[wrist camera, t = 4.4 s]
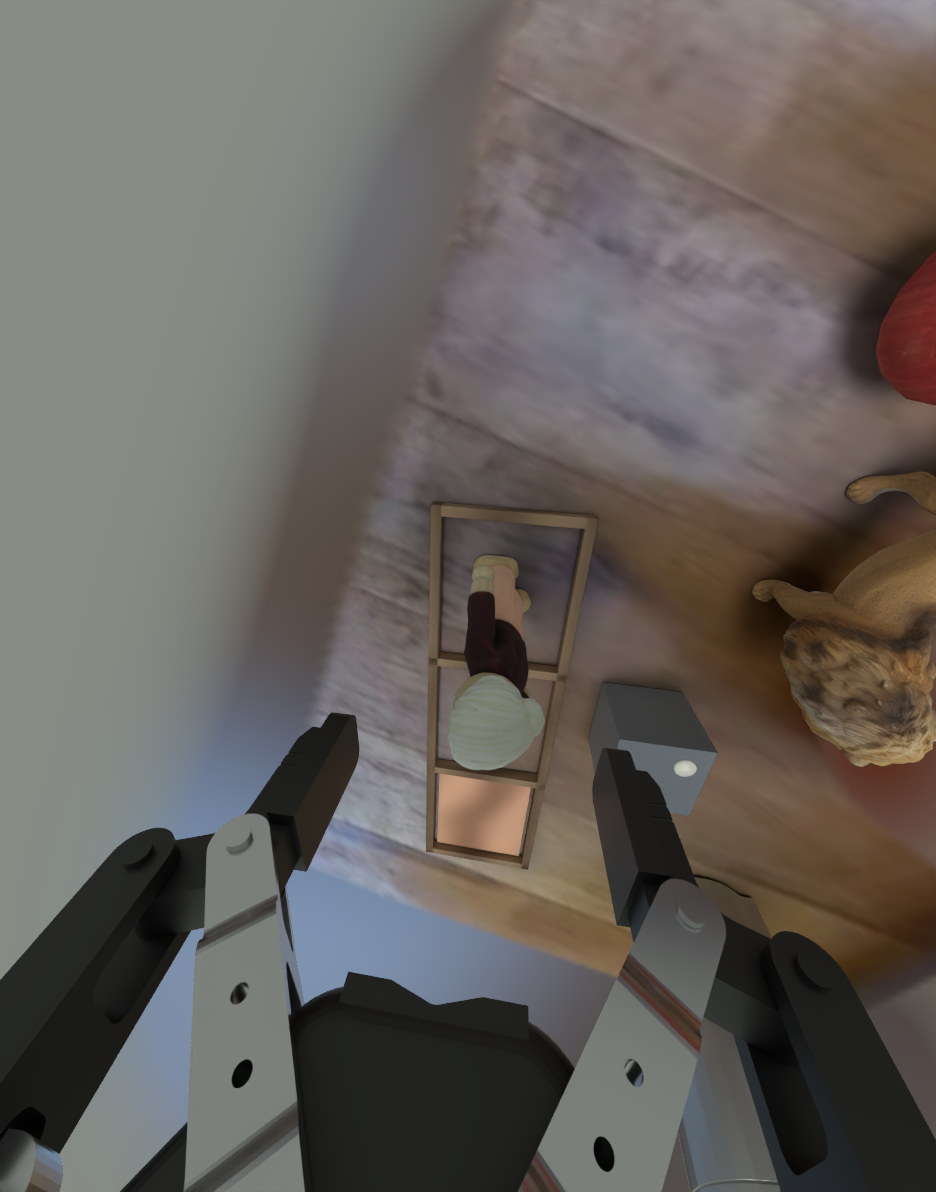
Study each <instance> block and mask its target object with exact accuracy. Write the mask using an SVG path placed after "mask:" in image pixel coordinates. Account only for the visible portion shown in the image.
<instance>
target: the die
mask: <svg viewBox="0 0 936 1192" xmlns="http://www.w3.org/2000/svg"><path fill="white" fill-rule="evenodd" d="M588 740H589V745H590V750H591V755H592V760H593V765H594V770H595V773H596V769H597V765H598V762H599V758H600V754H601V751H602V749H603V748H612V749H619V750H627V751H629V752H630V753H631V756H632V759H633V762H634V765H635V768H636V770H641V771H647V772H648V773H649V774H650V775H651V777H652V778H653V779H654V780H655V782H656V783H657V784H658V785H659V787H660V788H661V791H662V794H663V796H664V799H665V802H666V804H667V808H668V809H669V812H670V813H673V814H680V815H686V816H689V815H690V813H691V811H692V809H693V806H694V804H695V802H696V800H697V798H698V795H699V793H700V791H701V789H702V787H703V784H704V782H705V780H706V778H707V776H708V773H709V771H710V769H711V767H712V765H713V762H714V760H715V758H716V756H717V754H718V753H717V751H716V749H715V748H714V746H713V744H712V742H711V741H710V739H709V737H708V736H707V734H706V732H705V730H704V729H703V727H702V725H701V724H700V722H699V720H698V718H697V717H696V715H695V713H694V712H693V710H692V708H691V706H690V705H689V703H688V701H687V700H686V698H685V696H684V694H683V693H682V692H677V691H669V690H661V689H653V688H645V687H637V686H629V685H621V684H613V683H605V682H603V683H602V687H601V691H600V695H599V699H598V703H597V707H596V711H595V714H594V718H593V722H592V726H591V730H590V734H589V738H588Z"/></svg>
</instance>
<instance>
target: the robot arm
mask: <svg viewBox="0 0 936 1192" xmlns="http://www.w3.org/2000/svg"><path fill="white" fill-rule="evenodd" d="M358 757H359V741H358V732H357V723H356V717H355V716H354V715H349V714H341V713H331V714H330V715H329V716H328V717H327V719H326V720H325V722H324V723H323V725H322V727H321V728H318V727H312V728H310V729H309V730H308V731H307V732H305V733H304V734H303V735H301V736H300V737H299V738H298V739H297V741H296V742H295V743H294V745H293V746H292V748H291V749H290V751H289V754H288V755H286V756H285V758H284V759H283V761H282V762H281V765H280V766H279V767H278V768H277V769H276V771H275V772H274V774H273V775H272V777H271V778H270V780H269V781H268V782H267V784H266V785H265V787H264V788H263V790H262V791H261V793H260V794H259V795H258V797H257V798H256V800H255V801H254V803H253V804H252V806H251V807H250V808H249V810H248V811H247V812H246V813H245V814H244V815H241V816H238V817H236V818H234V819H232V820H230V821H229V822H227V823H226V824H224V825H223V826H222V827H221V828H220V829H219V830H218V831H217V832H216V833H213V834H209V835H203V836H197V837H192V838H186V839H180V840H175V838H174V836H173V834H172V832H171V831H169V830H167V829H165V828H153V829H149V830H145V831H143V832H140V833H138V834H136V835H134V836H132V837H131V838H129V839H128V840H126V841H125V842H123V843H122V844H121V845H120V846H118V847H117V848H116V849H115V850H114V851H113V852H112V853H111V854H110V856H109V857H108V858H107V859H106V860H105V861H104V862H103V863H102V865H101V866H100V867H99V868H98V869H97V870H96V872H95V873H94V874H93V875H92V876H91V877H90V878H89V880H88V881H87V882H86V883H85V884H84V885H83V886H82V888H81V889H80V890H79V891H78V892H77V893H76V894H75V895H74V897H73V898H72V899H71V900H70V901H69V902H68V903H67V905H66V906H65V907H64V908H63V909H62V910H61V911H60V913H59V914H58V915H57V916H56V917H55V918H54V919H53V921H52V922H51V923H50V924H49V925H48V926H47V928H46V929H45V930H44V931H43V932H42V933H41V934H40V935H39V937H38V938H37V939H36V940H35V941H34V942H33V943H32V945H31V946H30V947H29V948H28V949H27V950H26V952H25V953H24V954H23V955H22V956H21V957H20V958H19V959H18V960H17V962H16V963H15V964H14V965H13V966H12V967H11V969H10V970H9V971H8V972H7V973H6V974H5V975H4V976H3V978H2V979H1V980H0V1192H59V1191H60V1188H61V1183H62V1176H63V1166H62V1161H61V1158H60V1156H59V1154H60V1152H61V1150H62V1149H63V1147H64V1145H65V1143H66V1142H67V1140H68V1138H69V1137H70V1135H71V1133H72V1132H73V1130H74V1128H75V1127H76V1125H77V1123H78V1121H79V1120H80V1118H81V1116H82V1115H83V1113H84V1111H85V1110H86V1108H87V1106H88V1104H89V1103H90V1101H91V1100H92V1098H93V1096H94V1094H95V1093H96V1091H97V1089H98V1088H99V1086H100V1084H101V1082H102V1081H103V1079H104V1077H105V1076H106V1074H107V1072H108V1071H109V1069H110V1067H111V1066H112V1064H113V1062H114V1060H115V1059H116V1057H117V1055H118V1054H119V1052H120V1050H121V1049H122V1047H123V1045H124V1044H125V1042H126V1040H127V1038H128V1037H129V1035H130V1033H131V1032H132V1030H133V1028H134V1026H135V1025H136V1023H137V1021H138V1020H139V1018H140V1016H141V1015H142V1013H143V1011H144V1010H145V1008H146V1006H147V1004H148V1003H149V1001H150V999H151V998H152V996H153V994H154V993H155V991H156V989H157V987H158V986H159V984H160V982H161V981H162V979H163V977H164V976H165V974H166V972H167V971H168V969H169V967H170V966H171V964H172V962H173V960H174V959H175V957H176V955H177V954H178V952H179V950H180V949H181V947H182V945H183V943H184V942H185V940H186V938H187V937H188V935H189V933H190V932H191V930H195V929H199V928H204V935H203V939H201V940H199V942H198V944H197V947H196V954H195V970H194V992H193V1016H192V1037H191V1059H190V1080H189V1102H188V1122H187V1123H186V1124H185V1125H184V1126H183V1127H182V1128H181V1129H180V1130H179V1131H178V1132H177V1133H176V1134H175V1135H174V1136H173V1137H172V1138H171V1139H170V1140H169V1142H168V1143H166V1145H164V1147H163V1148H162V1149H161V1150H160V1151H159V1152H158V1153H157V1154H156V1155H155V1156H154V1157H153V1158H152V1159H151V1160H150V1161H149V1162H148V1163H147V1164H146V1165H145V1166H144V1167H143V1168H142V1169H141V1170H140V1171H139V1173H138V1174H136V1175H135V1177H134V1178H133V1179H132V1180H131V1181H130V1182H129V1183H128V1184H127V1185H126V1186H125V1187H124V1188H123V1189H122V1190H121V1191H120V1192H661V1190H662V1187H663V1184H664V1180H665V1176H666V1173H667V1169H668V1165H669V1162H670V1158H671V1155H672V1151H673V1147H674V1144H675V1140H676V1136H677V1133H678V1135H679V1140H680V1144H681V1149H682V1154H683V1159H684V1163H685V1168H686V1172H687V1177H688V1182H689V1186H690V1191H691V1192H936V1140H935V1138H934V1136H933V1134H932V1132H931V1130H930V1129H929V1127H928V1125H927V1123H926V1121H925V1119H924V1117H923V1116H922V1114H921V1112H920V1110H919V1108H918V1106H917V1104H916V1103H915V1101H914V1099H913V1097H912V1095H911V1093H910V1092H909V1090H908V1088H907V1086H906V1084H905V1082H904V1080H903V1079H902V1077H901V1075H900V1073H899V1071H898V1069H897V1067H896V1066H895V1064H894V1062H893V1060H892V1058H891V1056H890V1055H889V1053H888V1051H887V1049H886V1047H885V1045H884V1043H883V1042H882V1040H881V1038H880V1036H879V1034H878V1032H877V1031H876V1029H875V1027H874V1025H873V1023H872V1021H871V1019H870V1018H869V1016H868V1014H867V1012H866V1010H865V1008H864V1006H863V1005H862V1003H861V1001H860V999H859V997H858V995H857V993H856V992H855V990H854V988H853V986H852V984H851V982H850V981H849V979H848V977H847V976H846V974H845V973H844V971H843V970H842V969H841V967H840V966H839V965H838V964H837V962H836V961H835V960H834V959H833V958H832V957H831V956H830V955H829V954H828V953H827V952H826V951H825V950H823V949H822V948H821V947H820V946H819V945H817V944H816V943H814V942H813V941H811V940H810V939H808V938H806V937H804V936H802V935H800V934H797V933H794V932H789V931H783V932H779V933H777V934H776V935H774V936H773V938H772V937H771V935H770V933H769V931H768V929H767V927H766V925H765V922H764V920H763V918H762V916H761V914H760V912H759V910H758V908H757V906H756V904H755V902H754V900H753V899H752V898H747V897H742V896H740V895H738V894H737V893H736V892H734V891H733V890H732V889H730V888H729V887H727V886H725V885H723V884H721V883H718V882H715V881H712V880H708V879H703V878H697V877H694V875H693V873H692V870H691V867H690V865H689V862H688V860H687V857H686V854H685V852H684V849H683V846H682V844H681V841H680V838H679V836H678V833H677V831H676V828H675V825H674V823H672V817H671V815H670V812H669V809H668V808H667V804H666V802H665V799H664V796H663V794H662V791H661V788H660V787H659V785H658V784H657V783H656V782H655V780H654V779H653V778H652V777H651V775H650V774H649V773H648V772H647V771H641V770H636V768H635V765H634V762H633V759H632V756H631V753H630V752H629V751H627V750H619V749H612V748H603V749H602V751H601V754H600V758H599V762H598V765H597V769H596V773H595V777H594V780H593V803H594V809H595V814H596V819H597V824H598V829H599V835H600V840H601V845H602V850H603V856H604V861H605V866H606V871H607V877H608V882H609V887H610V892H611V897H612V903H613V908H614V913H615V918H616V924H617V925H619V926H625V927H630V928H631V932H632V937H633V942H634V944H633V946H632V948H631V950H630V952H629V954H628V957H627V959H626V961H625V963H624V965H623V967H622V969H621V971H620V973H619V975H618V978H617V980H616V982H615V984H614V986H613V988H612V991H611V993H610V995H609V997H608V999H607V1002H606V1003H605V1006H604V1008H603V1010H602V1012H601V1014H600V1016H599V1018H598V1021H597V1023H596V1025H595V1027H594V1029H593V1031H592V1034H591V1036H590V1038H589V1040H588V1042H587V1044H586V1046H585V1049H584V1051H583V1053H582V1055H581V1057H580V1059H579V1062H578V1064H577V1066H576V1068H574V1067H573V1065H572V1064H571V1062H570V1061H569V1059H568V1058H567V1057H566V1055H565V1054H564V1053H563V1052H562V1050H561V1049H560V1048H559V1046H558V1045H557V1044H556V1043H555V1042H554V1041H552V1039H551V1038H550V1037H549V1036H548V1035H547V1034H545V1033H544V1032H543V1031H542V1030H540V1029H539V1028H538V1027H536V1026H535V1025H533V1024H531V1023H530V1022H528V1006H526V1005H521V1004H515V1003H510V1002H505V1001H500V1000H494V999H489V998H484V997H482V998H475V999H470V1000H464V1001H458V1002H453V1003H447V1004H441V1005H433V1004H430V1003H428V1002H427V1001H425V1000H423V999H422V998H420V997H419V996H417V995H415V994H414V993H412V992H410V991H409V990H407V989H405V988H404V987H402V986H400V985H399V984H397V983H395V982H394V981H392V980H389V979H384V978H379V977H373V976H368V975H363V974H358V973H352V972H348V975H347V978H346V981H345V984H344V987H340V988H336V989H333V990H330V991H327V992H325V993H323V994H321V995H319V996H317V997H315V998H313V999H312V1000H310V1001H309V1002H307V1003H306V1004H304V998H303V992H302V986H301V981H300V976H299V971H298V966H297V960H296V953H295V946H294V939H293V932H292V924H291V917H290V910H289V902H288V895H287V887H286V883H287V882H288V879H289V878H290V876H291V874H292V872H293V870H300V871H307V870H308V867H309V865H310V863H311V861H312V859H313V857H314V855H315V853H316V850H317V848H318V846H319V844H320V842H321V840H322V838H323V836H324V833H325V831H326V829H327V827H328V825H329V823H330V821H331V819H332V816H333V814H334V812H335V810H336V808H337V806H338V804H339V802H340V799H341V797H342V795H343V793H344V791H345V789H346V787H347V785H348V782H349V780H350V778H351V776H352V774H353V772H354V770H355V767H356V765H357V761H358Z"/></svg>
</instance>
